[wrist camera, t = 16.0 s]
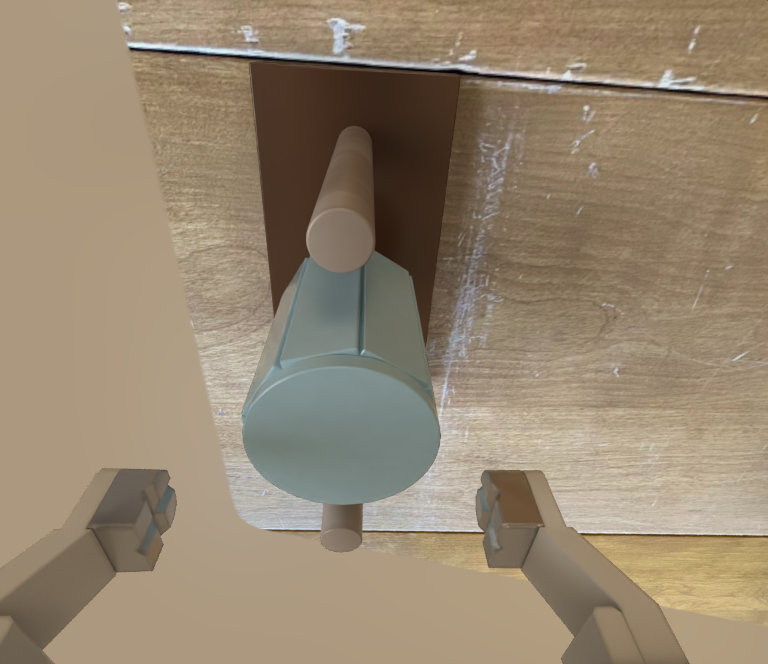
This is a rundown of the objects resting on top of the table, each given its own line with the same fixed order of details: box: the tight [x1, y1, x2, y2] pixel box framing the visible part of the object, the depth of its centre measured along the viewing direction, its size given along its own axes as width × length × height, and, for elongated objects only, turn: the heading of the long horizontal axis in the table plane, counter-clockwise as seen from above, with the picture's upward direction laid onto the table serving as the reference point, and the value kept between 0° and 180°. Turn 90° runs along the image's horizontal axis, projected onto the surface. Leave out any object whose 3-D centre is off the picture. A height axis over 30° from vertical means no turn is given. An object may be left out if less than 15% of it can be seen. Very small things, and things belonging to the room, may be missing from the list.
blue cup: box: [241, 250, 441, 505], centre depth 16 cm, size 6×6×8 cm
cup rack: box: [249, 62, 461, 552], centre depth 19 cm, size 9×18×14 cm, turn 177°
